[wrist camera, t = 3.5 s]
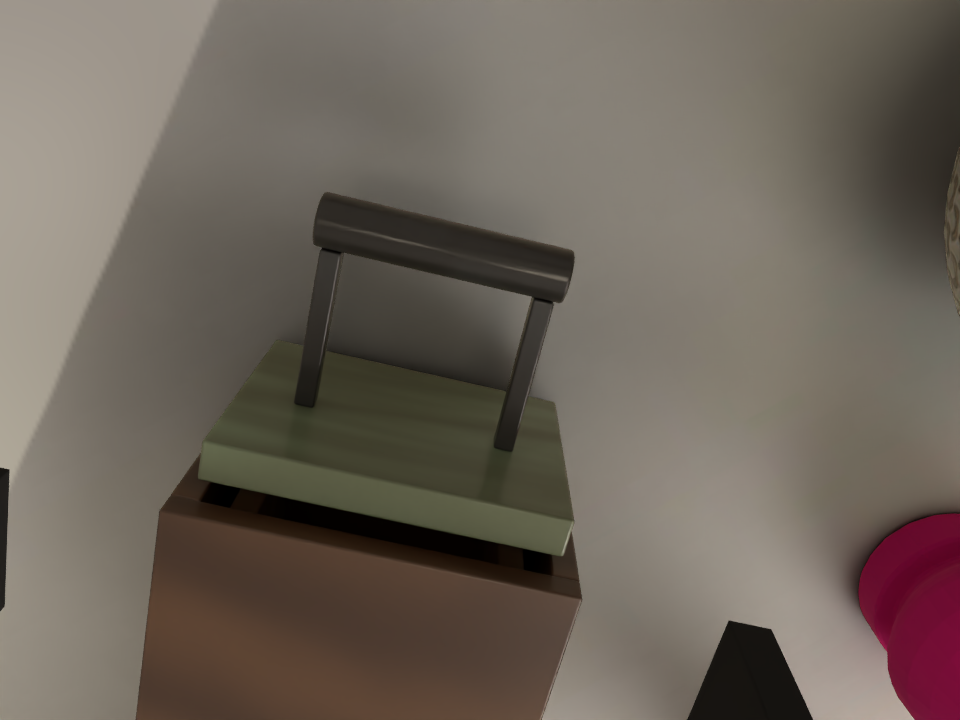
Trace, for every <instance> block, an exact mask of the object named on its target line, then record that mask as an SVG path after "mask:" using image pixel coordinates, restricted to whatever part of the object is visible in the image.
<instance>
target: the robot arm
mask: <svg viewBox="0 0 960 720" xmlns="http://www.w3.org/2000/svg"><path fill="white" fill-rule="evenodd" d="M8 495H9V469H4V468H0V611H1V610H2V609H3V608H4V606H5V580H6V551H7V523H8ZM687 720H813V719H812V716H811V714H810V712H809V710H808V708H807V706H806V703H805V701H804V699H803V697H802V695H801V693H800V690H799V688H798V686H797V684H796V682H795V680H794V677H793V675H792V673H791V671H790V669H789V667H788V664H787V662H786V660H785V658H784V656H783V654H782V651H781V649H780V647H779V645H778V643H777V641H776V639H775V636H774V634H773V632H772V630H771V629H767V628H762V627H757V626H752V625H748V624H743V623H738V622H733V621H728V624H727V626H726V628H725V631H724V633H723V636H722V638H721V640H720V643H719V645H718V648H717V650H716V652H715V655H714V657H713V659H712V662H711V664H710V667H709V669H708V671H707V674H706V676H705V679H704V681H703V683H702V686H701V688H700V691H699V693H698V695H697V698H696V700H695V702H694V705H693V707H692V710H691V712H690V714H689V717H688V719H687Z"/></svg>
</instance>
